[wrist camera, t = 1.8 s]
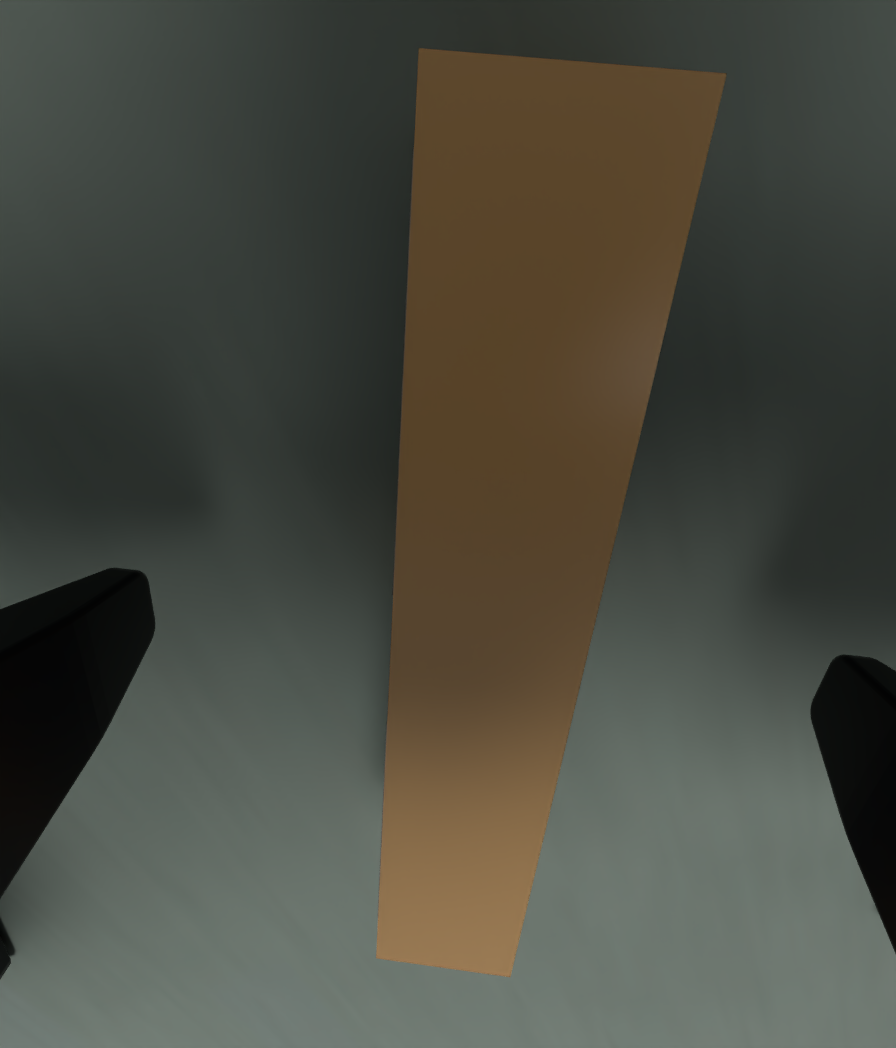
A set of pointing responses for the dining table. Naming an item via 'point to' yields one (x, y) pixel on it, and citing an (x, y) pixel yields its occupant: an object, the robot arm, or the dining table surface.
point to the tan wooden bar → (516, 455)
